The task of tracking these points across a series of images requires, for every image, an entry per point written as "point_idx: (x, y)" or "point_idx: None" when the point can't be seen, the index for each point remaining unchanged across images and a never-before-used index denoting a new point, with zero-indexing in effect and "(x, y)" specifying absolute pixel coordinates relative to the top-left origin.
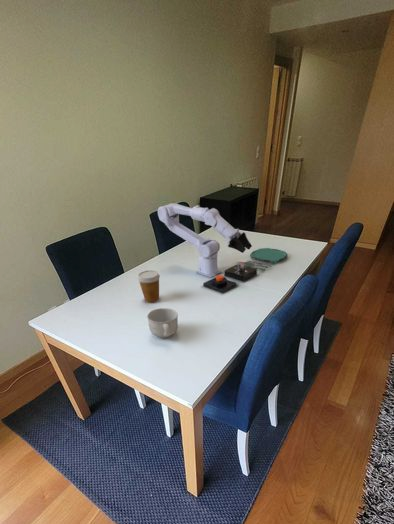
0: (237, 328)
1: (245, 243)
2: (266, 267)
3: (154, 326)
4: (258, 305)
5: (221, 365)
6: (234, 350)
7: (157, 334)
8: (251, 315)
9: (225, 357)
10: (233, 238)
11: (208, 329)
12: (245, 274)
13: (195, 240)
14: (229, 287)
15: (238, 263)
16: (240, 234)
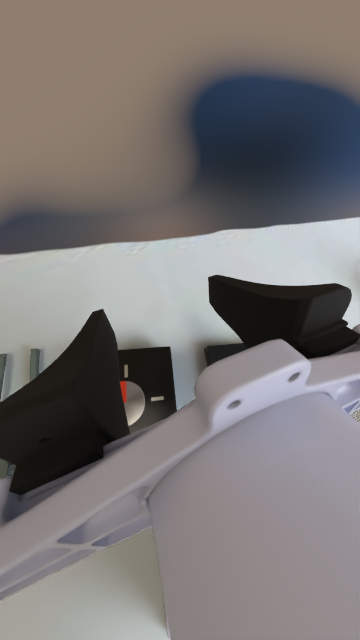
0: (306, 241)
1: (109, 356)
2: (4, 360)
3: None
4: (231, 253)
5: (356, 218)
6: (332, 221)
7: None
8: (265, 245)
9: (347, 222)
10: (349, 301)
11: (348, 270)
12: (153, 352)
13: None
14: (239, 344)
15: (136, 408)
16: (11, 509)
